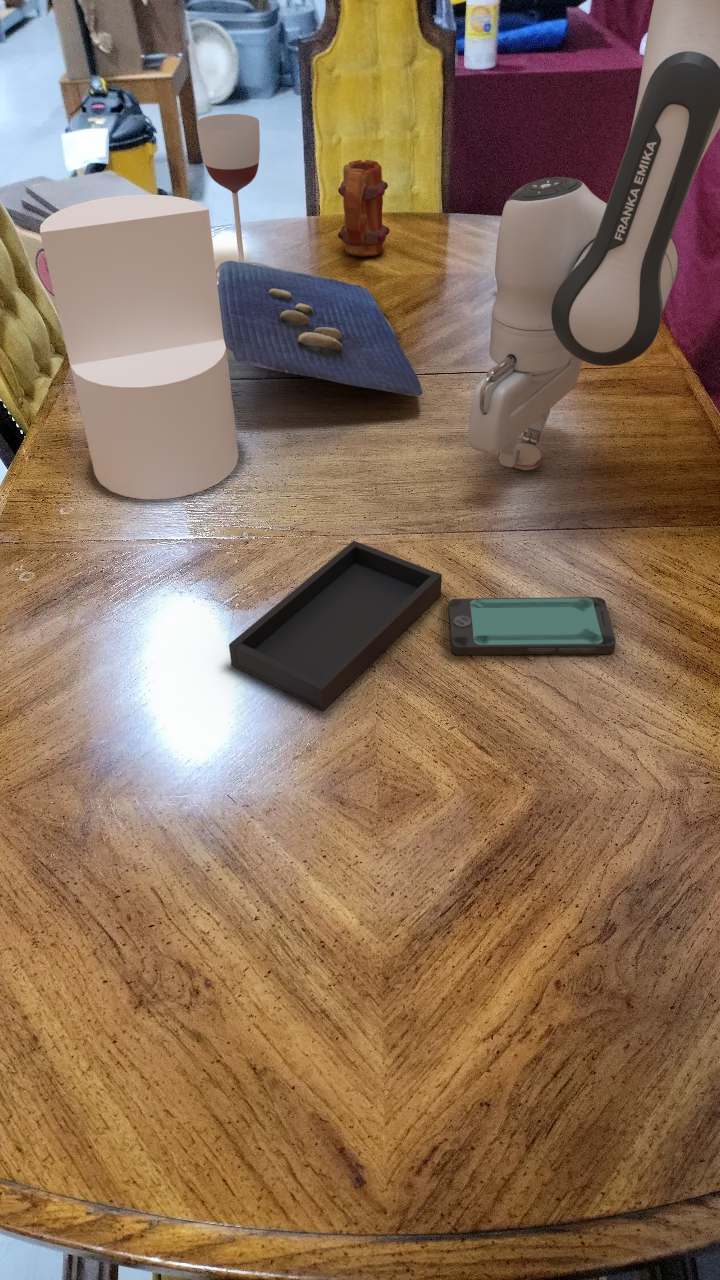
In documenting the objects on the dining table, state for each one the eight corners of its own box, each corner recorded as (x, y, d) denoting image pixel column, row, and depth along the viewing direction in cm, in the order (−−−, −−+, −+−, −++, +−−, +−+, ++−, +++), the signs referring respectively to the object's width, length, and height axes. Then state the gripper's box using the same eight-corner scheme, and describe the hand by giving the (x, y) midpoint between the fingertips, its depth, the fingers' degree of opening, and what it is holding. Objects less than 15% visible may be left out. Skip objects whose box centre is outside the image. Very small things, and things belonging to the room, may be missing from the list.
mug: (347, 242, 176) (344, 150, 166) (392, 244, 174) (392, 152, 165) (328, 272, 165) (324, 176, 155) (376, 275, 164) (375, 178, 154)
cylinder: (84, 441, 124) (31, 207, 105) (219, 415, 128) (190, 186, 110) (106, 512, 111) (50, 261, 93) (255, 481, 115) (229, 235, 97)
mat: (195, 317, 158) (206, 243, 151) (359, 347, 165) (376, 278, 159) (210, 437, 122) (225, 348, 116) (419, 469, 130) (444, 386, 124)
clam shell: (543, 474, 115) (545, 455, 114) (501, 477, 115) (502, 458, 113) (534, 455, 118) (536, 436, 117) (493, 458, 118) (494, 439, 117)
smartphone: (448, 597, 96) (604, 595, 96) (448, 607, 97) (602, 605, 97) (452, 646, 91) (617, 645, 90) (452, 657, 91) (615, 655, 91)
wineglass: (246, 258, 171) (232, 110, 156) (282, 273, 165) (271, 121, 150) (202, 272, 166) (184, 121, 151) (239, 288, 160) (223, 133, 146)
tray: (441, 595, 98) (442, 574, 97) (323, 711, 86) (322, 689, 85) (354, 560, 103) (353, 540, 101) (231, 665, 91) (228, 644, 89)
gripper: (510, 384, 99) (501, 501, 108) (598, 314, 112) (583, 425, 121) (456, 369, 102) (451, 485, 111) (548, 302, 114) (536, 411, 123)
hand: (520, 453), depth 116 cm, fingers closed on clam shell, 4 cm apart
